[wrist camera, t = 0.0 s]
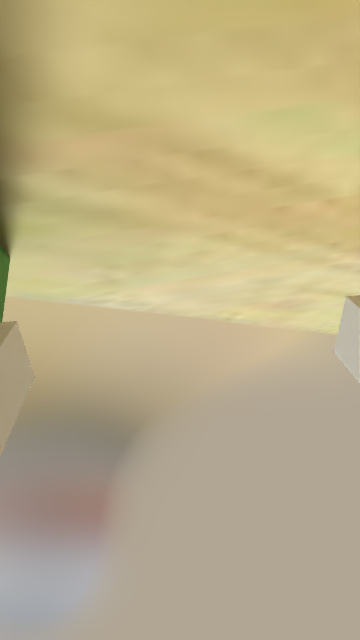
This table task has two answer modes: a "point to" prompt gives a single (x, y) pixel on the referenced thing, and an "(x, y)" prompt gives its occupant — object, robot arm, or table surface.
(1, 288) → the hardback book
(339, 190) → the table surface
